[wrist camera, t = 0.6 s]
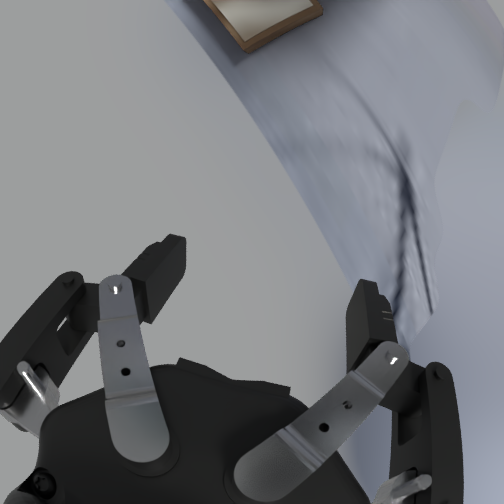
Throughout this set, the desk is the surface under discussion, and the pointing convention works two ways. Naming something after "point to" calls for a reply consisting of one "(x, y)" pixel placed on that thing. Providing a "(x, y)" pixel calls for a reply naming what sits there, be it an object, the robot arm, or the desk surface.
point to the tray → (262, 18)
